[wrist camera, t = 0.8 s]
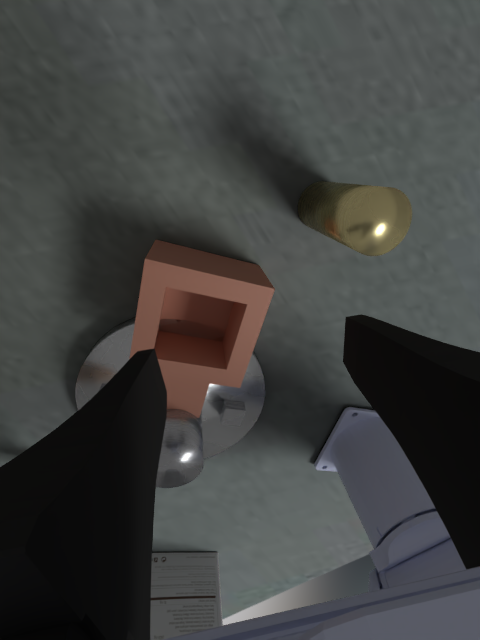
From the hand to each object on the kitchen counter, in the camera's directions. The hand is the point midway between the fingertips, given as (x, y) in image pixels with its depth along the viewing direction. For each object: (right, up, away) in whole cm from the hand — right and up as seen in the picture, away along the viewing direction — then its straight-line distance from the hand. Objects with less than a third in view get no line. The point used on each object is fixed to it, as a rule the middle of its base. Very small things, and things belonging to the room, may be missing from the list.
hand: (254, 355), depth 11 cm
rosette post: (-6, -4, +13) cm, 14 cm away
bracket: (-4, +1, +10) cm, 11 cm away
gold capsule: (+4, +8, +8) cm, 12 cm away
